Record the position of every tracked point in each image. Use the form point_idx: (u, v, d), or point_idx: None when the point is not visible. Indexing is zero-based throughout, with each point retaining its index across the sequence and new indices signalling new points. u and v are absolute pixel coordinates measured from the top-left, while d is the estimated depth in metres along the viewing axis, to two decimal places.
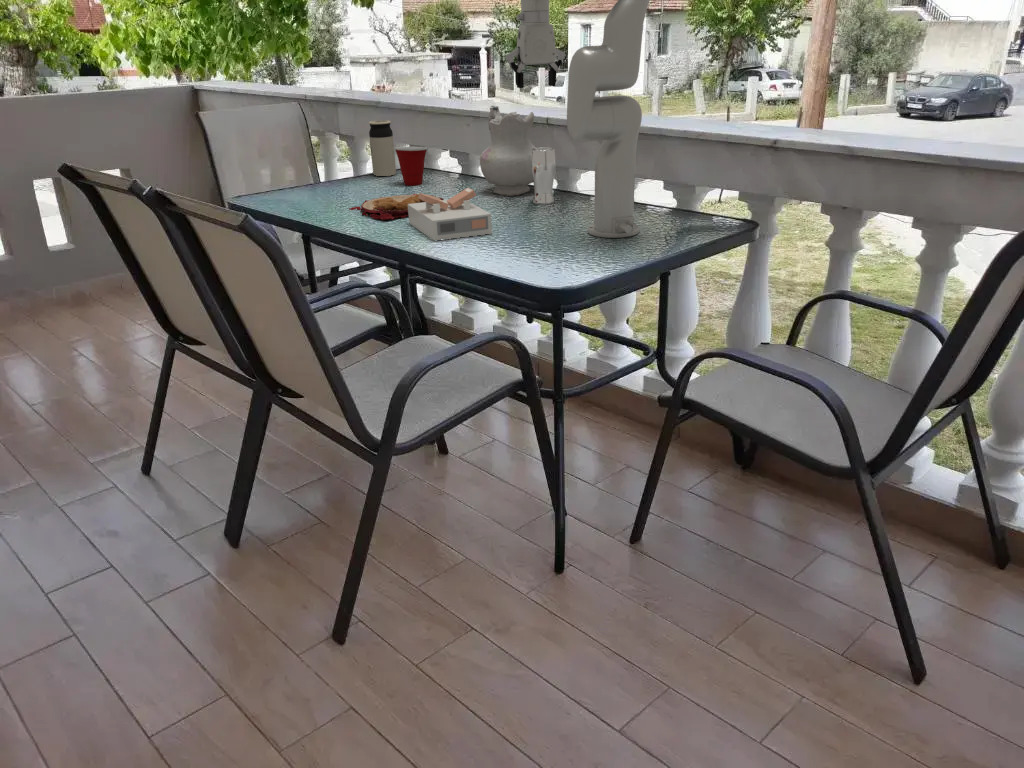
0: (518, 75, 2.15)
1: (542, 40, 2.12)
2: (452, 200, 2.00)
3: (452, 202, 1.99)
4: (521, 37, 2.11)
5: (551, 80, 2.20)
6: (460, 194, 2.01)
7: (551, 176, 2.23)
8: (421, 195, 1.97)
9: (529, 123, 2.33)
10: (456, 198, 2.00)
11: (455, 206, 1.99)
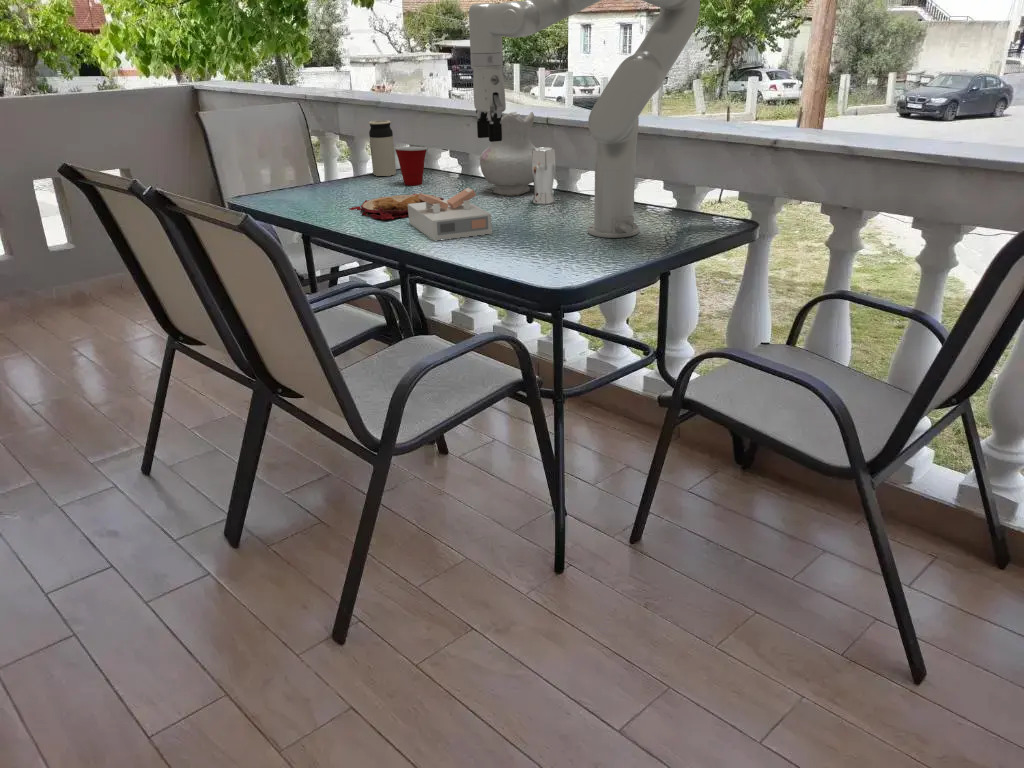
0: (499, 127, 1.89)
1: None
2: (452, 200, 2.00)
3: (452, 202, 1.99)
4: (501, 81, 1.85)
5: (486, 131, 1.96)
6: (460, 194, 2.01)
7: (551, 176, 2.23)
8: (421, 195, 1.97)
9: (529, 123, 2.33)
10: (456, 198, 2.00)
11: (455, 206, 1.99)
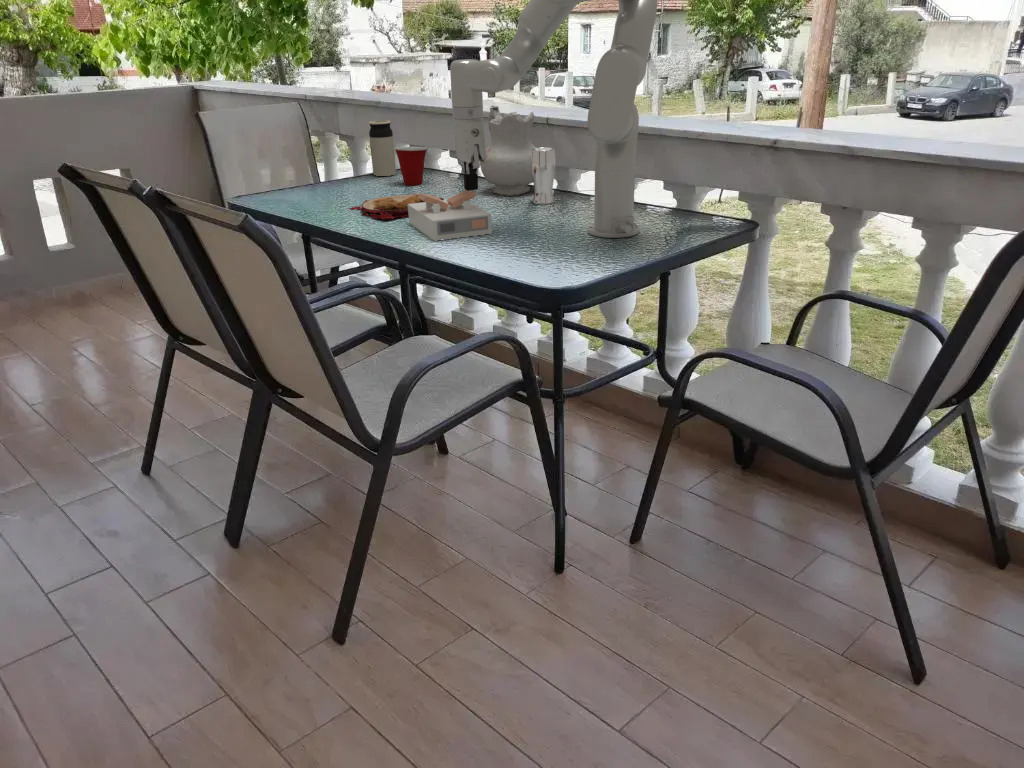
0: (475, 177, 1.99)
1: None
2: (452, 199, 2.00)
3: (452, 201, 1.99)
4: (481, 134, 1.92)
5: None
6: (460, 194, 2.01)
7: (551, 176, 2.23)
8: (421, 195, 1.97)
9: (529, 123, 2.33)
10: (456, 197, 2.00)
11: (455, 205, 1.99)
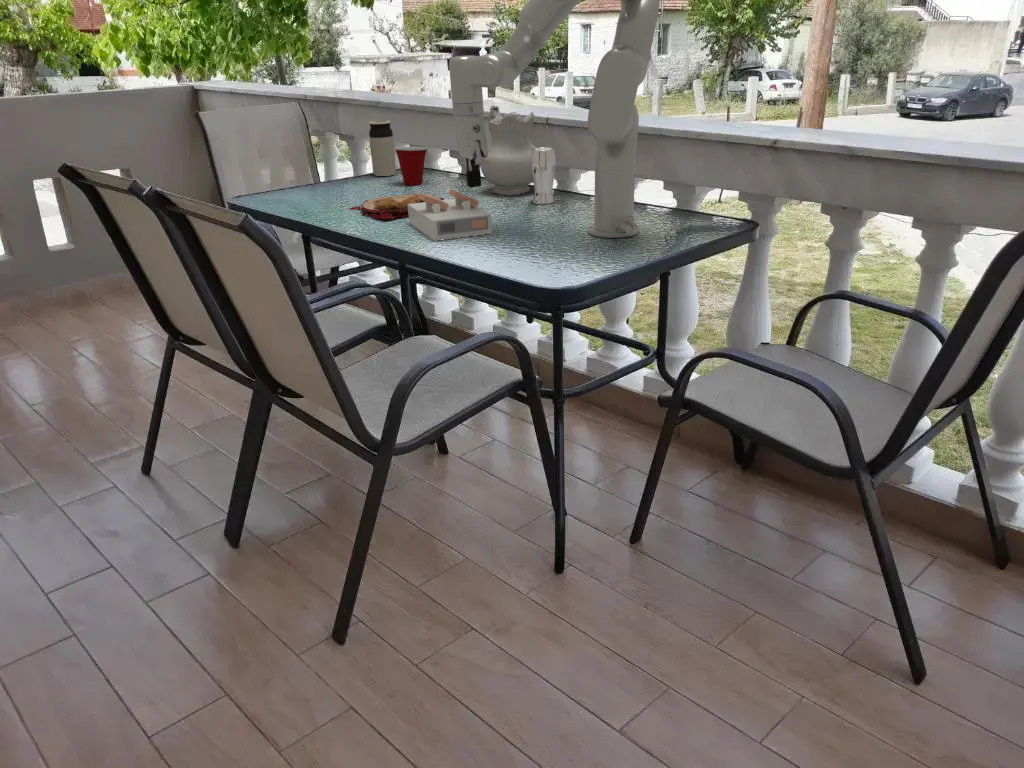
0: (478, 173, 1.98)
1: None
2: None
3: (456, 192, 1.98)
4: (482, 129, 1.91)
5: None
6: None
7: (551, 176, 2.23)
8: (421, 195, 1.97)
9: (529, 123, 2.33)
10: (460, 193, 2.00)
11: (456, 196, 1.98)
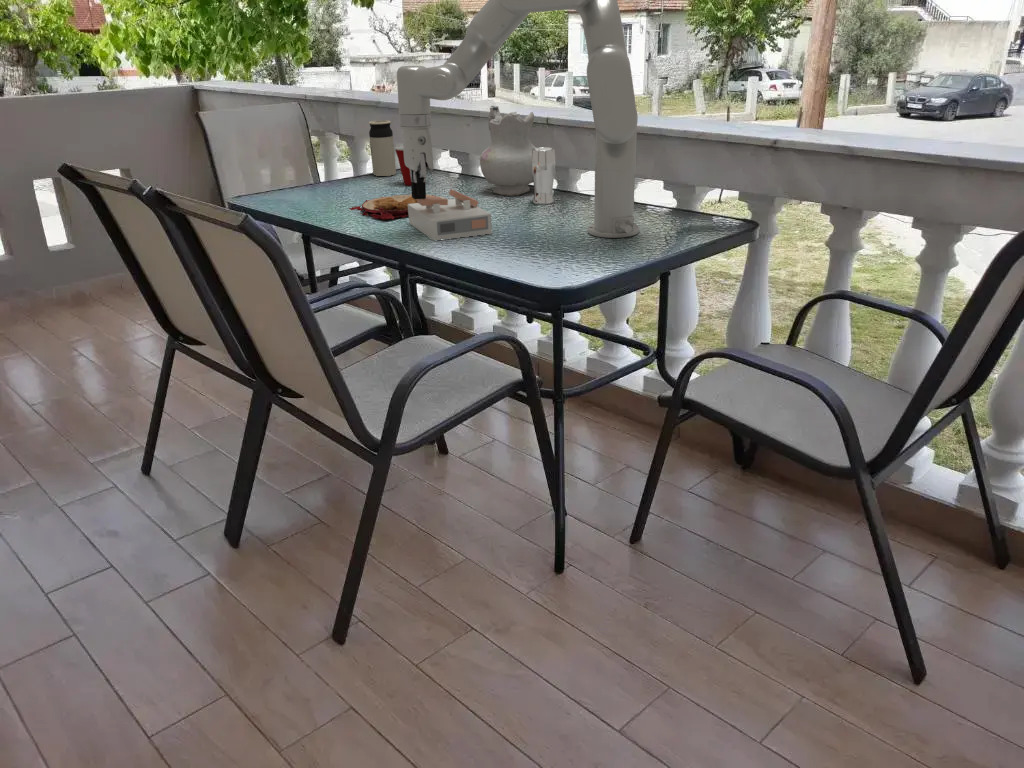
0: (423, 186, 1.95)
1: None
2: None
3: (456, 192, 1.98)
4: (428, 142, 1.88)
5: None
6: None
7: (551, 176, 2.23)
8: (419, 199, 1.97)
9: (529, 123, 2.33)
10: (460, 193, 2.00)
11: (456, 196, 1.98)
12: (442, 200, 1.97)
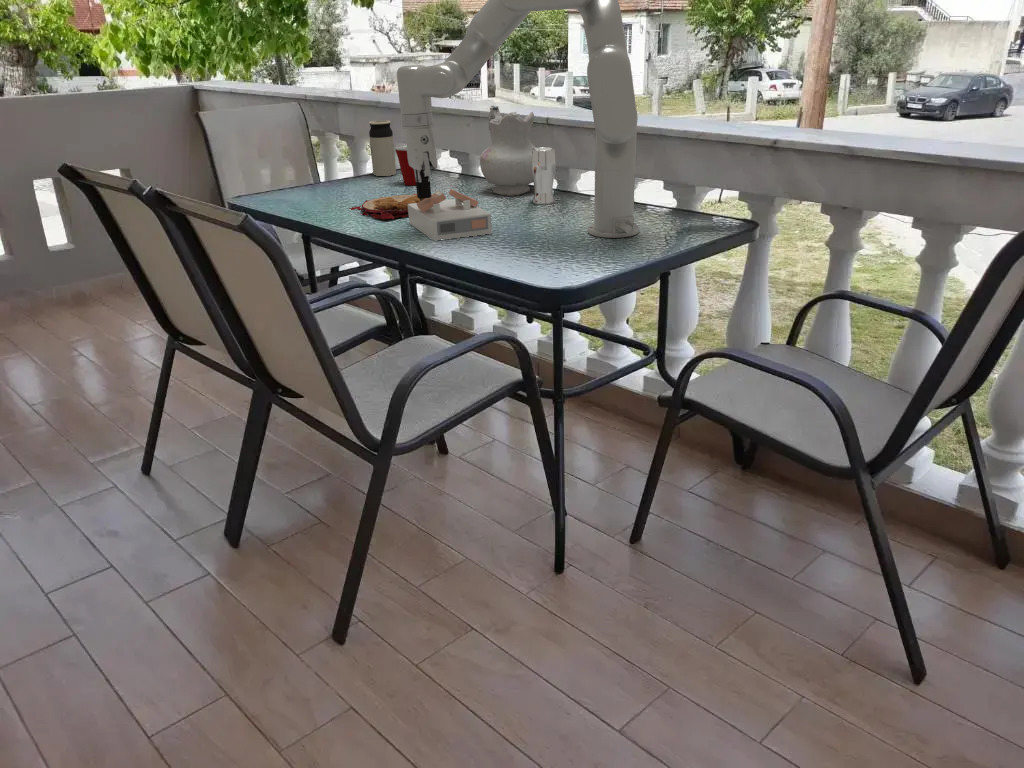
0: (427, 185, 1.95)
1: None
2: None
3: (456, 192, 1.98)
4: (431, 141, 1.88)
5: None
6: None
7: (551, 176, 2.23)
8: (419, 206, 1.98)
9: (529, 123, 2.33)
10: (460, 193, 2.00)
11: (456, 196, 1.98)
12: (439, 197, 1.96)
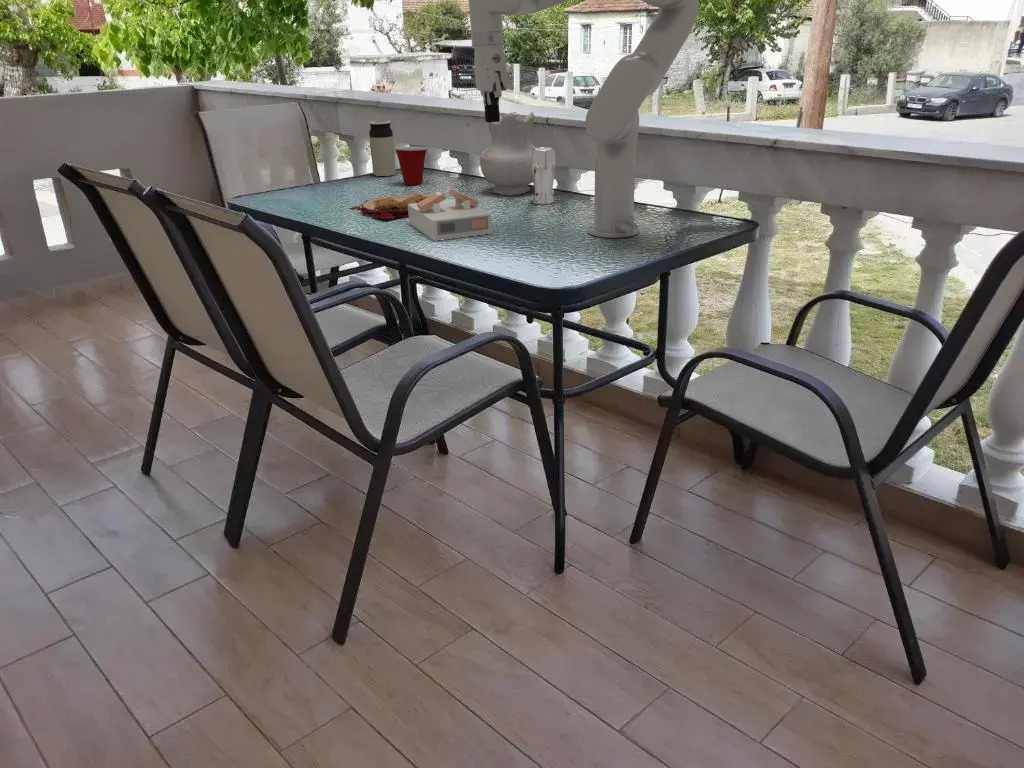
0: (496, 108, 1.92)
1: None
2: None
3: (456, 192, 1.98)
4: (502, 60, 1.85)
5: None
6: None
7: (551, 176, 2.23)
8: (419, 206, 1.98)
9: (529, 123, 2.33)
10: (460, 193, 2.00)
11: (456, 196, 1.98)
12: (439, 197, 1.96)
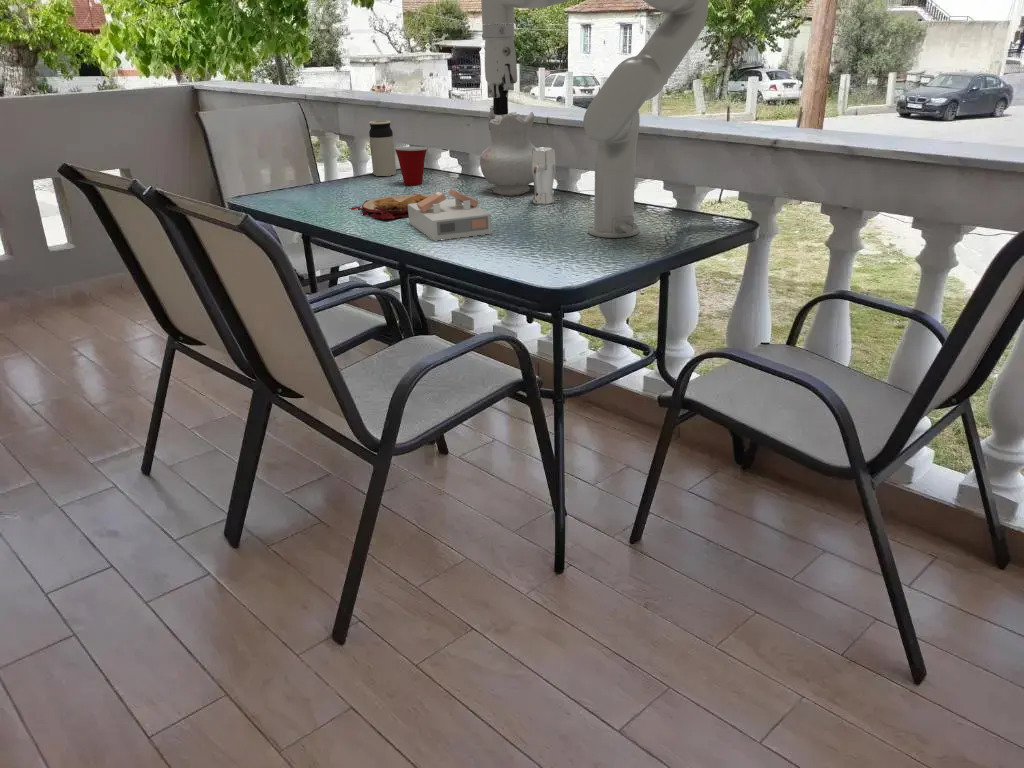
0: (505, 101, 1.93)
1: None
2: None
3: (456, 192, 1.98)
4: (512, 53, 1.85)
5: None
6: None
7: (551, 176, 2.23)
8: (419, 206, 1.98)
9: (529, 123, 2.33)
10: (460, 193, 2.00)
11: (456, 196, 1.98)
12: (439, 197, 1.96)
